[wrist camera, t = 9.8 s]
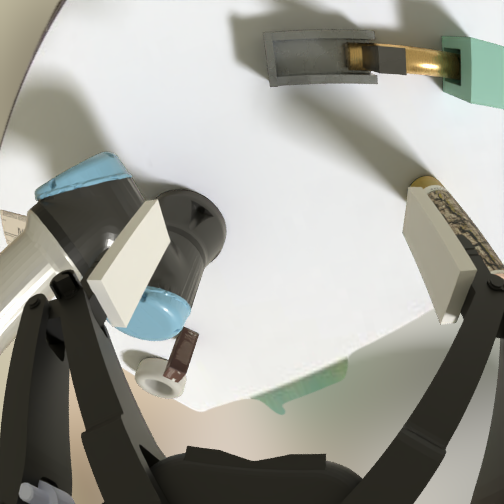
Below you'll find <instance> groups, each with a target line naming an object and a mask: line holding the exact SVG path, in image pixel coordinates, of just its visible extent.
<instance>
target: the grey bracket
mask: <svg viewBox="0 0 504 504" xmlns="http://www.w3.org/2000/svg"><path fill="white" fill-rule="evenodd" d="M263 36H264V44H265V51H266V59H267V67H268V75H269V83H270V87H278V86H282V85H298V84H327V83H356V84H378V82H377V75H374V74H372V73H371V71H356V70H348V67H347V63H346V55H345V46H346V42H357V43H369V40H375V34H374V31H365V30H297V31H281V32H264V33H263Z"/></svg>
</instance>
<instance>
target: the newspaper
mask: <svg viewBox="0 0 504 504" xmlns="http://www.w3.org/2000/svg"><path fill="white" fill-rule="evenodd" d="M1 219H2V225H3V231H4V235H5V238H6V242H7V244H8V245H9V244H10V243H11V242H12V241H13V240H14V239H15V238H16V237H17V236H18V235H20V234H21V233H22V232H23V231H24V229H25V226H26V219H27V216H23V215H19V214H16V213H12V212H8V211H4V210H1Z"/></svg>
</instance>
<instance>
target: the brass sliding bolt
mask: <svg viewBox="0 0 504 504" xmlns="http://www.w3.org/2000/svg"><path fill="white" fill-rule="evenodd" d="M345 55H346V63H347V67H348V70H356V71H374V72H378V73H386V74H400V75H407V73H409V74H419V75H428V76H436V77H443V78H450V79H456V80H461V54H456V53H451V52H445V51H439V50H433V49H426V48H419V47H411V46H402V45H391V44H377V43H357V42H346V46H345Z"/></svg>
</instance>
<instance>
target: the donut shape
mask: <svg viewBox="0 0 504 504" xmlns="http://www.w3.org/2000/svg"><path fill="white" fill-rule="evenodd" d="M167 363H168V361H167V360H164V359H160V358H146V359H143V360H142V361H141V362H140V363H139V366H138V368H137V371H136V373H135V380H136V382H137V384H138V385H139V386H140V387H141V388H142V389H143V390H145V391H146V392H148V393H150V394H152V395H154V396H157V397H161V398H167V399H173V398H177V397H179V396H181V395H182V393H183V391H184V387H185V384H186V375H185V376H184V377H183V379H182V380H180V381H179V383H177V382H175V381H172V380H170V379H168V378H166V377H164V376H163V374H164V371H165V369H166V366H167Z"/></svg>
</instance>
